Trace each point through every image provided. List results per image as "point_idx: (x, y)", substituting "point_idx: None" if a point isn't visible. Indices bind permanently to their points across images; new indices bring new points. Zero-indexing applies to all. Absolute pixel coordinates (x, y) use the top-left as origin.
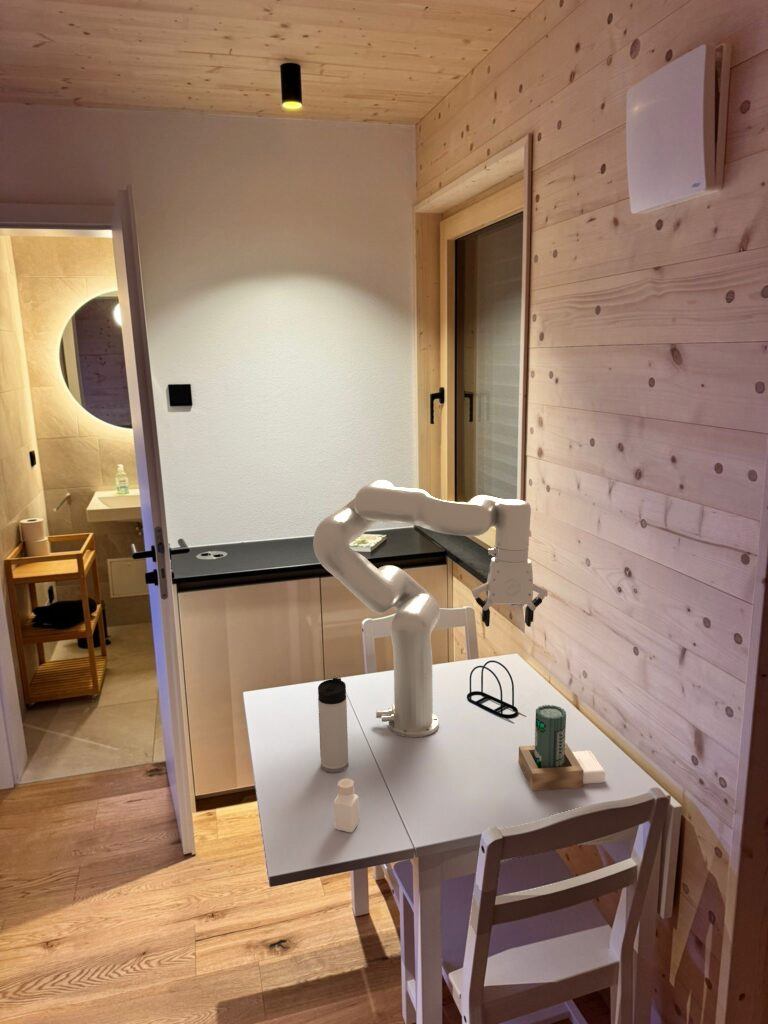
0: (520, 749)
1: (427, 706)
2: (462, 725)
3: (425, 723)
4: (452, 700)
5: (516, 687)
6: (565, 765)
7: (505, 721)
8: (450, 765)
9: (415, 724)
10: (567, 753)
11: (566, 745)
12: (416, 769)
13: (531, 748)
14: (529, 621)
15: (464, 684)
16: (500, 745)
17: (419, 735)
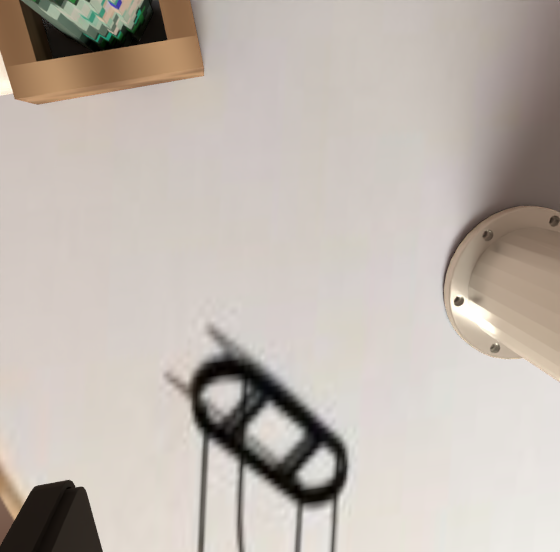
0: (198, 42)
1: (531, 265)
2: (371, 296)
3: (501, 247)
4: (392, 441)
5: (189, 549)
6: (34, 14)
7: (234, 335)
8: (422, 46)
9: (535, 231)
10: (12, 17)
11: (15, 82)
12: (525, 17)
13: (156, 51)
14: (29, 534)
15: (350, 541)
16: (258, 182)
17: (508, 210)
